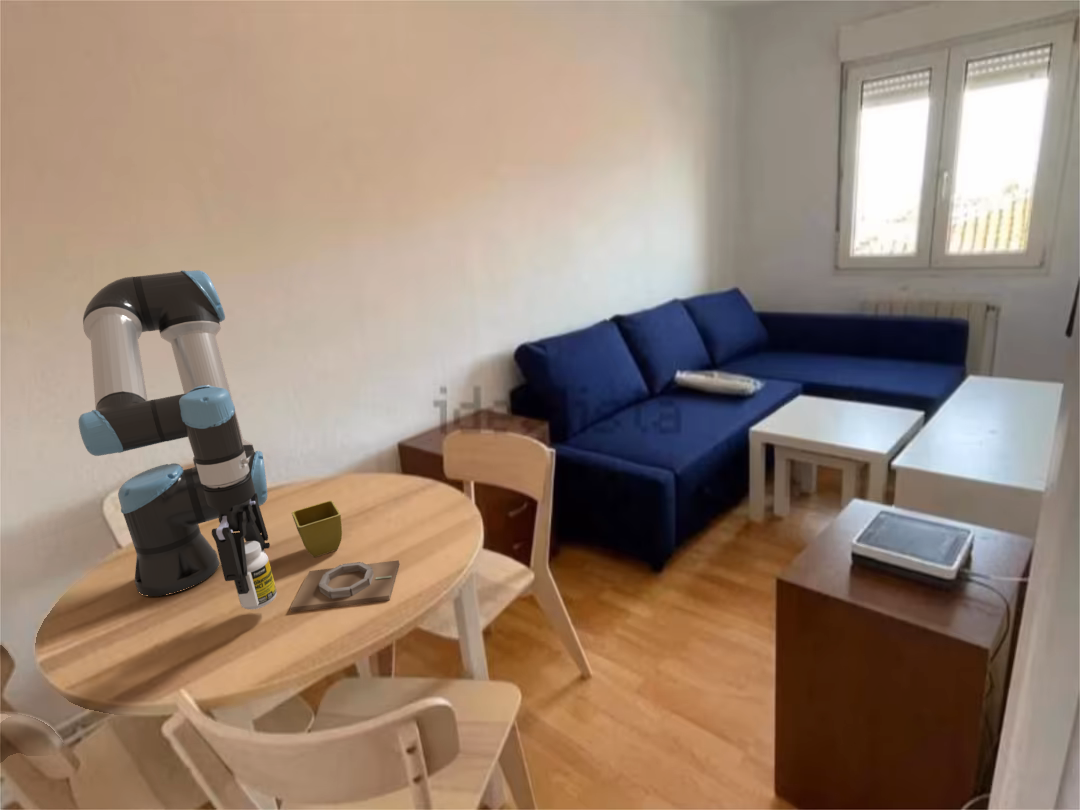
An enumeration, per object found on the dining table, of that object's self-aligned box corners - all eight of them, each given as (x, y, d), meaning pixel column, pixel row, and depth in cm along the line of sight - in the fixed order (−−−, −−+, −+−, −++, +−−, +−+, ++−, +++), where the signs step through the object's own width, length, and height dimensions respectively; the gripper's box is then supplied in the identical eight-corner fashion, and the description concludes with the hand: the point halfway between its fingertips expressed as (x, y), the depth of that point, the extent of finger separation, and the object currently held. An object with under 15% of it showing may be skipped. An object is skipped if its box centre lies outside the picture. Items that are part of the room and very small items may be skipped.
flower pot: (349, 551, 128) (341, 513, 126) (307, 565, 124) (298, 527, 122) (339, 535, 136) (331, 499, 133) (299, 548, 132) (290, 511, 129)
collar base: (291, 612, 109) (288, 601, 108) (310, 575, 120) (308, 564, 120) (389, 600, 110) (387, 588, 109) (399, 564, 121) (397, 554, 121)
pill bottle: (263, 612, 105) (249, 558, 101) (233, 609, 106) (218, 556, 103) (284, 590, 111) (271, 538, 107) (255, 588, 112) (241, 537, 108)
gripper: (225, 503, 92) (259, 626, 99) (269, 454, 110) (295, 561, 117) (175, 508, 91) (213, 631, 99) (227, 458, 110) (256, 565, 117)
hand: (257, 593), depth 108 cm, fingers closed on pill bottle, 6 cm apart
